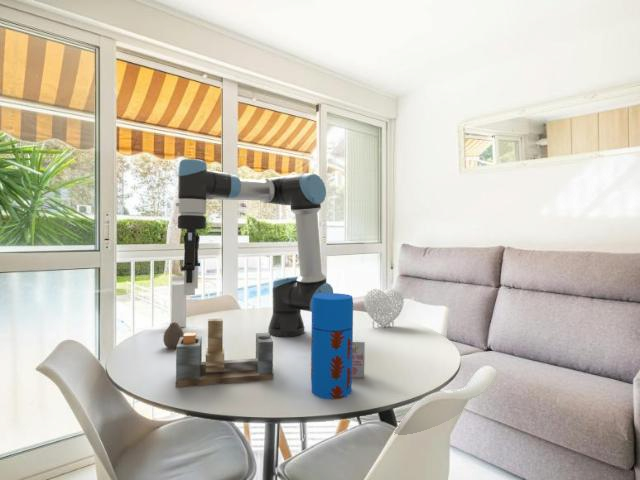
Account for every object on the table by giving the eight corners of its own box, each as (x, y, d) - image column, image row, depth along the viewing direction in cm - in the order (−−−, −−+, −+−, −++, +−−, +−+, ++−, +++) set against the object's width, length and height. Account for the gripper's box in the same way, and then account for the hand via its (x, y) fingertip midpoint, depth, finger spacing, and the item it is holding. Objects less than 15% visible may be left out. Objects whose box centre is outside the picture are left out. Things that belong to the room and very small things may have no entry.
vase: (177, 350, 133) (177, 325, 133) (159, 349, 135) (159, 324, 135) (187, 345, 140) (187, 321, 140) (170, 344, 142) (170, 320, 141)
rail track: (268, 365, 120) (268, 330, 120) (273, 379, 108) (273, 340, 108) (180, 371, 113) (180, 334, 113) (175, 387, 102) (175, 345, 102)
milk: (186, 327, 167) (186, 276, 167) (171, 328, 165) (171, 277, 165) (185, 324, 173) (185, 275, 173) (170, 325, 171) (171, 275, 170)
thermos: (309, 383, 106) (310, 293, 106) (348, 382, 107) (349, 293, 106) (312, 400, 95) (313, 299, 95) (354, 399, 96) (356, 299, 96)
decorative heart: (398, 323, 178) (399, 287, 178) (406, 329, 168) (407, 290, 167) (361, 324, 176) (361, 287, 176) (366, 330, 165) (367, 290, 165)
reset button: (195, 341, 110) (196, 332, 110) (195, 344, 107) (195, 335, 107) (184, 341, 109) (184, 333, 109) (183, 344, 106) (183, 336, 106)
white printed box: (341, 373, 114) (341, 339, 114) (363, 374, 113) (364, 340, 113) (340, 377, 110) (341, 343, 110) (364, 378, 110) (364, 344, 110)
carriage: (224, 363, 114) (224, 316, 114) (224, 372, 107) (224, 322, 107) (206, 365, 113) (207, 317, 113) (205, 373, 106) (205, 322, 106)
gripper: (182, 216, 119) (181, 286, 119) (172, 212, 95) (171, 298, 95) (207, 217, 120) (206, 285, 121) (204, 213, 97) (203, 298, 97)
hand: (191, 291), depth 108 cm, fingers open, 12 cm apart
